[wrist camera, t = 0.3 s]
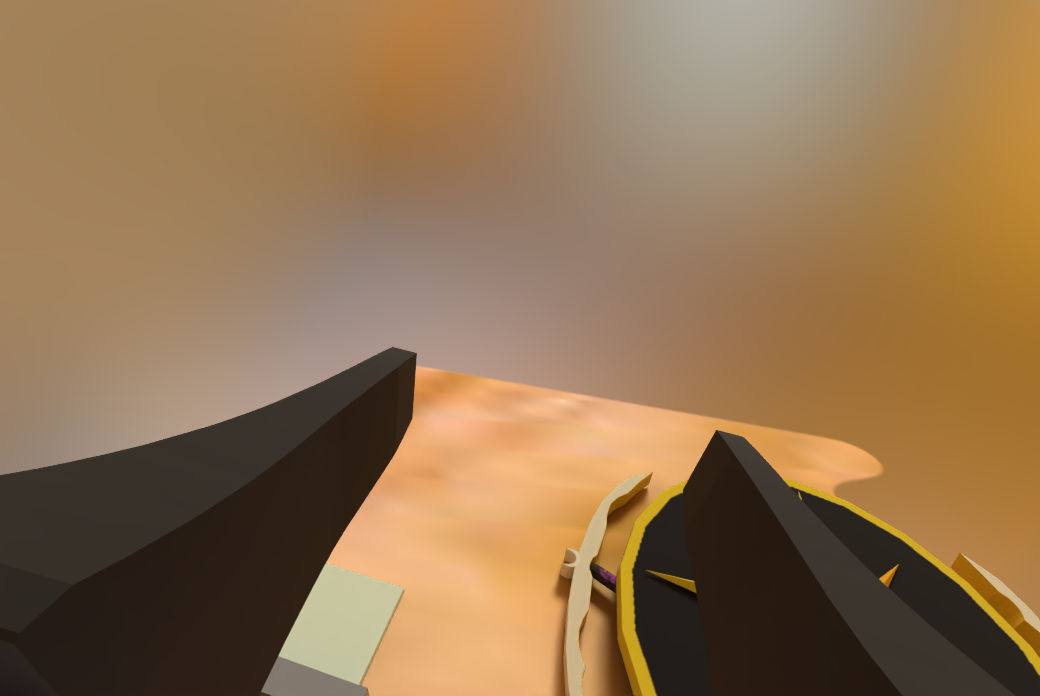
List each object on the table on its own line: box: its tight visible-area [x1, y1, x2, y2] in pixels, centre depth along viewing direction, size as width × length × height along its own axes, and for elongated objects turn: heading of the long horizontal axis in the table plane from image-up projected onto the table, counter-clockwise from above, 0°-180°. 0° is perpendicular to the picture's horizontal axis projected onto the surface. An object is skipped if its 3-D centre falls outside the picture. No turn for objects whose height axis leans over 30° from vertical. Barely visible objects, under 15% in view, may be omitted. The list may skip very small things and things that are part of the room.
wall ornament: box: [560, 472, 1040, 696], centre depth 24 cm, size 23×5×30 cm
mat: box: [279, 563, 404, 686], centre depth 24 cm, size 5×7×1 cm
